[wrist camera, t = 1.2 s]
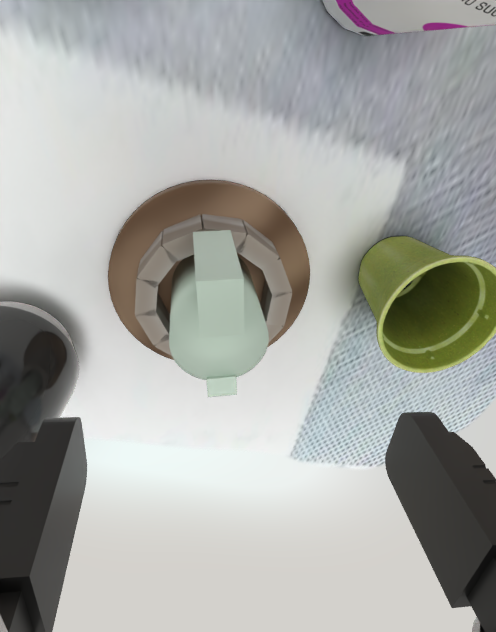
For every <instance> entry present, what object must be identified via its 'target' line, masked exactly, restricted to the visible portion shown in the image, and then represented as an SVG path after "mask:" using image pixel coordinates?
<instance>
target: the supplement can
mask: <svg viewBox="0 0 496 632" xmlns="http://www.w3.org/2000/svg"><path fill="white" fill-rule="evenodd" d="M322 1H323V3H324V5H325V7H326V10H327V12H328V13H329V14H330V15H331V16H332V17H333V18H334V19H335V20H336V21H337V22H338V23H339V24H340V25H341V26H342V27H343V28H345V29H347V30H350V31H352V32H355V33H358V34H360V35H363V36H371V35H384V34H396V33H407V32H419V31H430V30H441V29H453V28H464V27H476V26H487V25H496V0H322Z"/></svg>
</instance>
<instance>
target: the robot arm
mask: <svg viewBox="0 0 496 632" xmlns="http://www.w3.org/2000/svg"><path fill="white" fill-rule="evenodd" d="M385 463H386V470H387V474H388V477H389V479H390V481H391V483H392V485H393V487H394V489H395V491H396V493H397V495H398V498H399V500H400V502H401V504H402V506H403V508H404V510H405V512H406V514H407V516H408V518H409V520H410V522H411V524H412V526H413V529H414V530H415V533H416V535H417V537H418V539H419V541H420V543H421V545H422V547H423V549H424V551H425V553H426V555H427V557H428V560H429V562H430V564H431V566H432V568H433V570H434V572H435V574H436V576H437V578H438V580H439V582H440V584H441V586H442V588H443V590H444V593H445V595H446V597H447V599H448V601H449V603H450V605H451V607H452V608H456V607H465V606H472V608H473V610H474V612H475V614H476V616H477V617H476V619H475V621H474V623H473V629H472V632H496V479H495V477H494V476H493V475H492V473H491V472H490V471H489V469H486V467H485V464H484V462H483V461H482V460H481V458H480V457H479V456H478V454H477V453H476V451H475V450H474V449H473V447H471V446H470V445H469V444H468V443H467V442H465V441H464V440H463V439H462V438H460V437H459V436H458V435H457V434H456V433H454V432H448V430H447V429H446V428H445V426H444V425H443V423H442V422H441V420H440V419H439V418H438V416H437V415H436V414H434V413H432V412H412V413H402V414H401V415H400V417H399V419H398V422H397V425H396V427H395V430H394V433H393V436H392V438H391V441H390V444H389V446H388V449H387V452H386V458H385ZM86 477H87V460H86V452H85V445H84V438H83V430H82V423H81V419H80V418H79V417H72V418H45V419H44V420H43V422H42V424H41V426H40V429H39V432H38V434H37V437H36V439H35V442H18V443H17V444H16V445H15V446H14V447H13V448H12V449H11V450H10V451H9V452H8V453H7V454H6V455H5V456H4V457H3V458H2V459H1V460H0V632H52V630H53V625H54V621H55V617H56V613H57V608H58V604H59V599H60V595H61V591H62V586H63V582H64V577H65V572H66V568H67V564H68V560H69V556H70V551H71V547H72V543H73V538H74V534H75V529H76V525H77V521H78V517H79V512H80V508H81V503H82V499H83V495H84V490H85V485H86Z"/></svg>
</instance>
